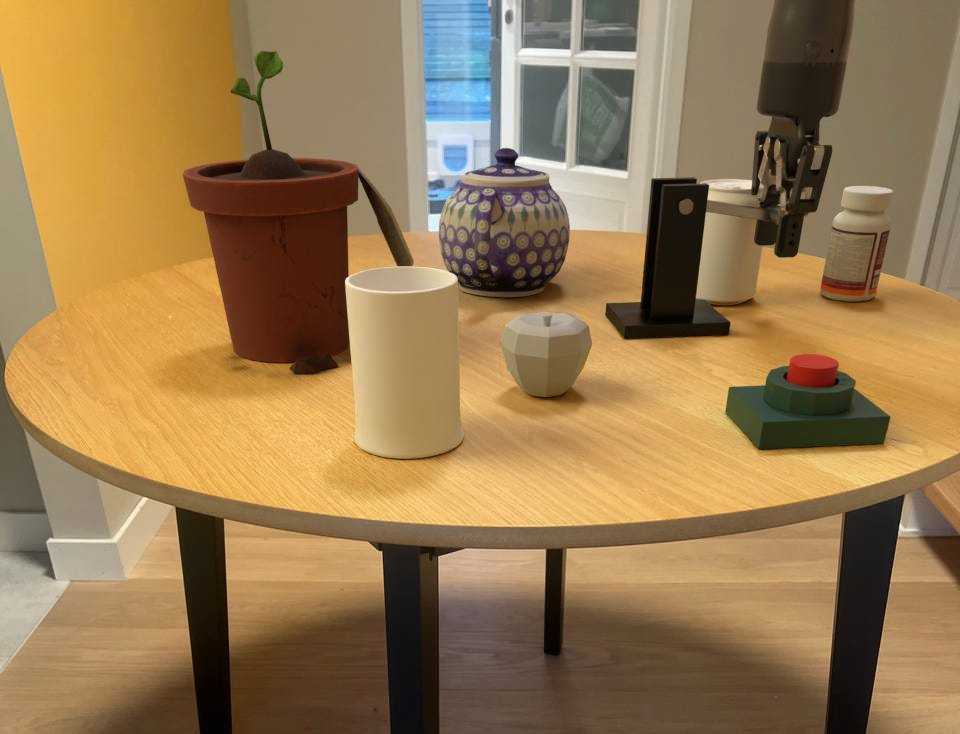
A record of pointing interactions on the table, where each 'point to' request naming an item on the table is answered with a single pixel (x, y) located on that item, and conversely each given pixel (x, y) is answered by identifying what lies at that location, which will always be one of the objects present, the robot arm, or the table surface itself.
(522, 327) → the apple
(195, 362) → the table surface
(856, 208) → the pill bottle
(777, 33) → the robot arm
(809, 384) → the button
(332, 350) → the potted plant
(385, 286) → the mug
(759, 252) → the beverage can
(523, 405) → the table surface
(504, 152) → the teapot
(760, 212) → the lever
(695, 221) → the bracket
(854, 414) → the button box
